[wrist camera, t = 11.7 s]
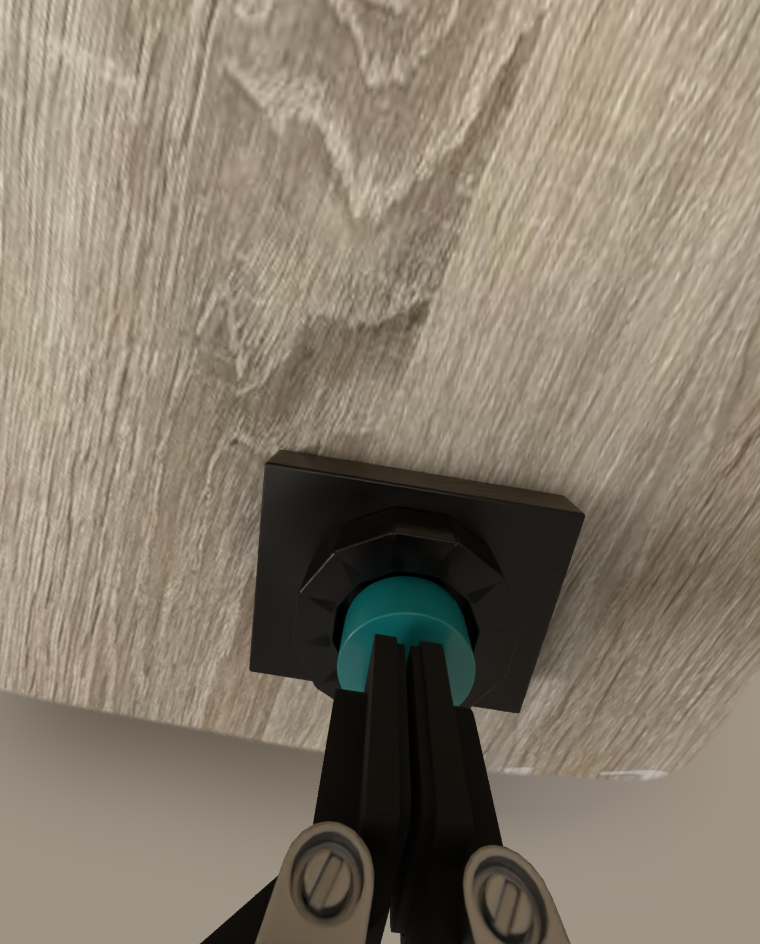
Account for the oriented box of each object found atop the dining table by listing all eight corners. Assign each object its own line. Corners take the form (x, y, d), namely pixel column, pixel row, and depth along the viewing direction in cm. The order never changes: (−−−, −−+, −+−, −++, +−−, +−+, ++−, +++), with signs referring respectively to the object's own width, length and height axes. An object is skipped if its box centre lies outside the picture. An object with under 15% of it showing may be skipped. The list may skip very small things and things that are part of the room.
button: (477, 585, 12) (490, 625, 10) (451, 684, 13) (459, 735, 11) (353, 566, 12) (346, 602, 10) (337, 666, 13) (328, 714, 11)
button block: (565, 495, 14) (618, 541, 11) (507, 678, 16) (536, 763, 13) (279, 449, 14) (242, 480, 11) (262, 639, 16) (228, 715, 13)
